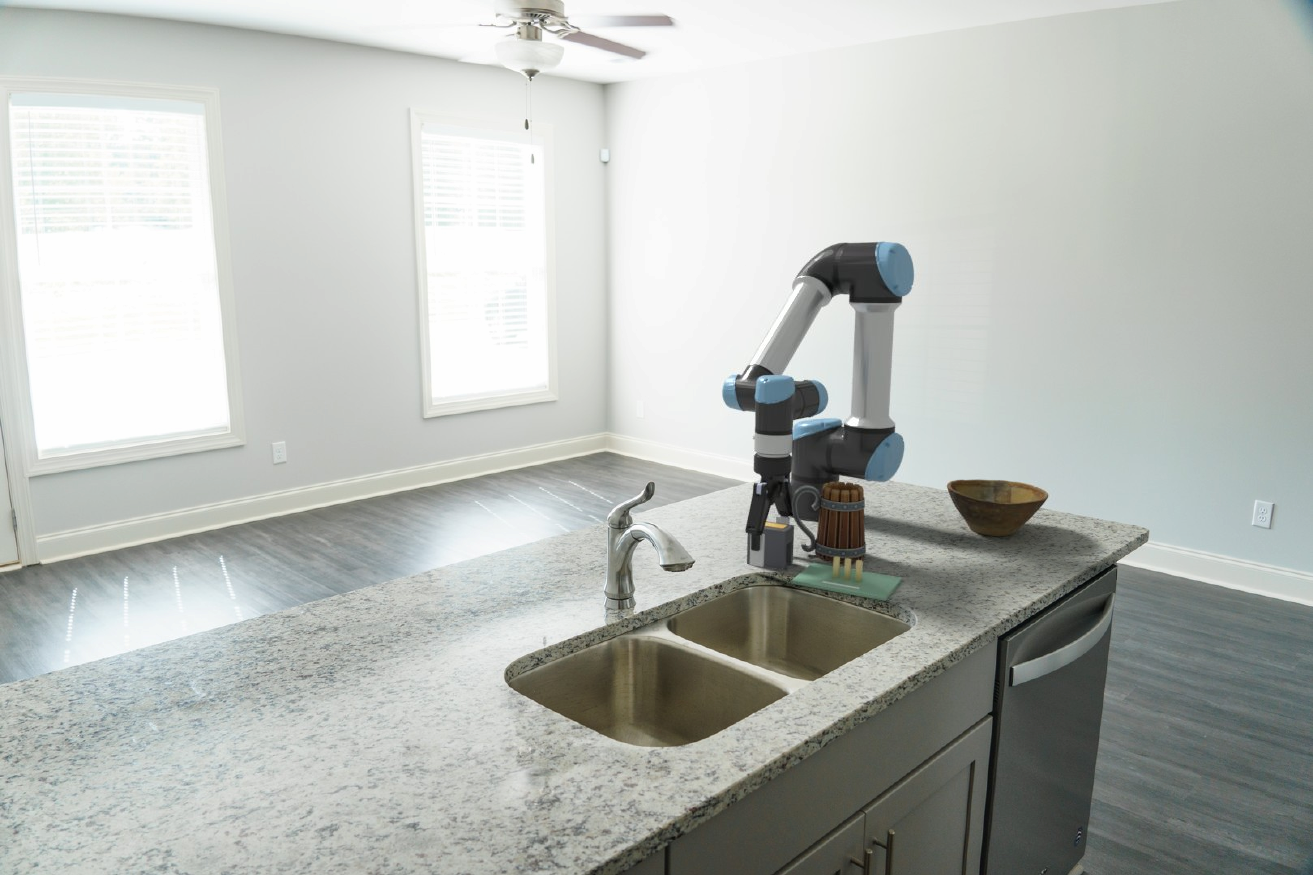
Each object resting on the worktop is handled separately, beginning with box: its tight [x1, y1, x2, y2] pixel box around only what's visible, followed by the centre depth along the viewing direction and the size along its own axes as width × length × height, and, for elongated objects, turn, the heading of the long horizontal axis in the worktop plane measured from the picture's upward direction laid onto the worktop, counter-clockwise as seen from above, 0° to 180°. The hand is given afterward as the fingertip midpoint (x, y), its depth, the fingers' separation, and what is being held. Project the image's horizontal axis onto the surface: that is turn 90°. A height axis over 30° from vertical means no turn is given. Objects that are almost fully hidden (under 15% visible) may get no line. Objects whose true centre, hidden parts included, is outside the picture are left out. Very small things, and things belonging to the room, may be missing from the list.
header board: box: [790, 556, 903, 602], centre depth 169 cm, size 12×18×5 cm, turn 61°
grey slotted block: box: [746, 520, 795, 571], centre depth 179 cm, size 5×8×8 cm, turn 61°
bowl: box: [946, 479, 1049, 537], centre depth 202 cm, size 22×23×10 cm
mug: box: [791, 481, 867, 564], centre depth 184 cm, size 16×11×15 cm
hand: (769, 555), depth 180 cm, fingers open, 13 cm apart
